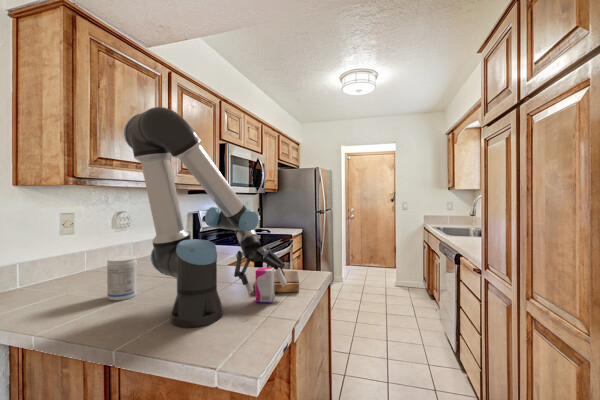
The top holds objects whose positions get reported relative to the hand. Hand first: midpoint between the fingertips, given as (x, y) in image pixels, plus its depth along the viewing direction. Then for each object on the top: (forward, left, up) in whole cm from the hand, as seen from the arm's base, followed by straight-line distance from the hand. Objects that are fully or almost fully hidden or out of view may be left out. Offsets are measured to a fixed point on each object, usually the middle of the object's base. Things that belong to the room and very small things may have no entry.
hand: (268, 288), depth 100 cm
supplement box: (-1, +1, -5) cm, 5 cm away
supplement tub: (-55, +9, -5) cm, 56 cm away
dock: (+3, +18, -5) cm, 19 cm away
